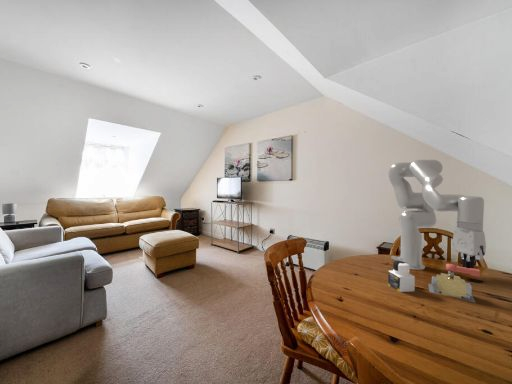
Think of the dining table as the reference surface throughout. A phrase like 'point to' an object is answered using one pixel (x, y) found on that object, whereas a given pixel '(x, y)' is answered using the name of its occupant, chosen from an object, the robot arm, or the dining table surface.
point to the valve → (451, 285)
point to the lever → (463, 270)
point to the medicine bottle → (401, 277)
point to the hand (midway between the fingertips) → (467, 269)
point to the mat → (450, 296)
